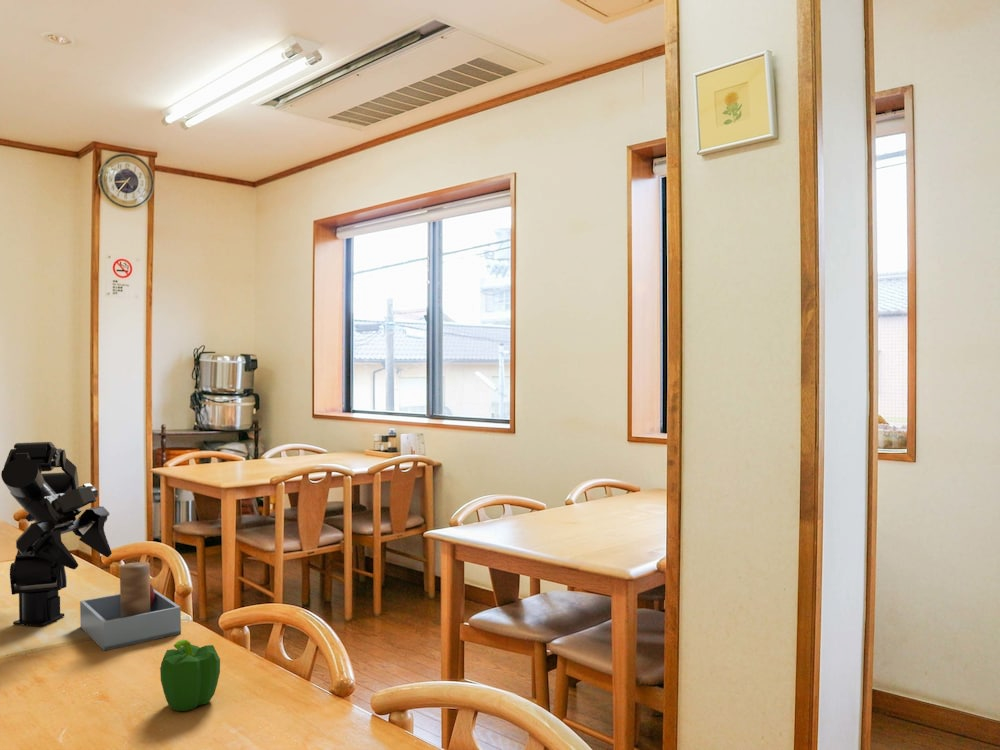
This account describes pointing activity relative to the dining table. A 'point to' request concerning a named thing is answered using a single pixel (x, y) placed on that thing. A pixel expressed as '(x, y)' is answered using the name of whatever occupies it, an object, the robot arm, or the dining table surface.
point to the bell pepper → (189, 675)
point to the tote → (128, 621)
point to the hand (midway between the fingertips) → (93, 561)
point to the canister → (134, 589)
